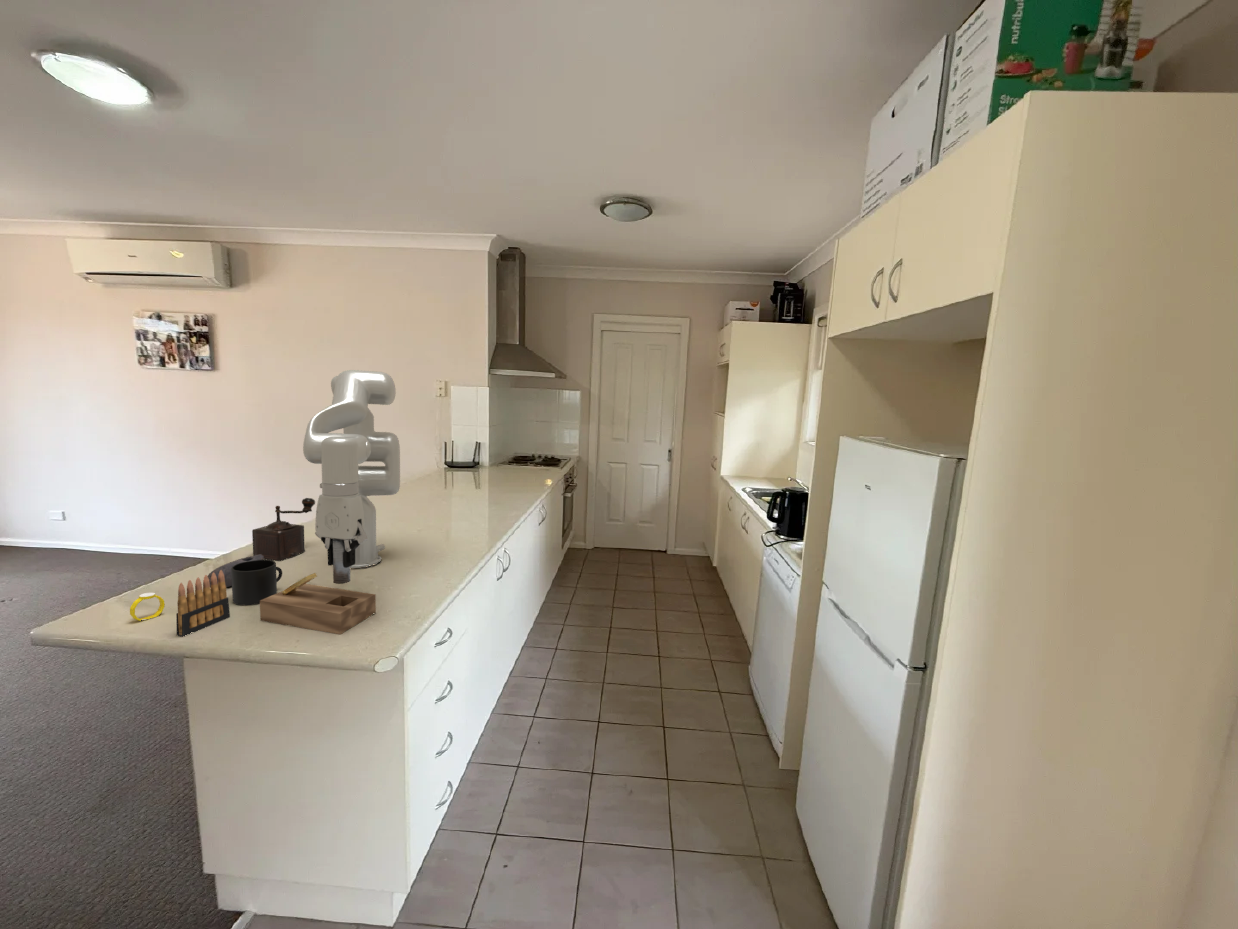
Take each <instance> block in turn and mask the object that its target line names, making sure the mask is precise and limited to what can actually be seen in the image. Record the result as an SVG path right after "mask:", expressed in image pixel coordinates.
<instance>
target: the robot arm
mask: <svg viewBox="0 0 1238 929" xmlns="http://www.w3.org/2000/svg"><path fill="white" fill-rule="evenodd" d="M330 388H331V392H332V395H333V396H332V400H331V404H330V405H329V406H327V407H325V408H323V409H321V410H320V411H319V412H317V413H316V414H314V416H312V417H311V418H310V420H309V421H308V423H307V426H306V429H305V434H304V437H303V438H304V439H303V445H302V451H303V456H304V458H305V460H306V461H307V462H310V463H312V464H316V465H321V483H319V488H320V489H321V494H319V496H318V499H317V504H316V511H315V524H314V525H315V532H314V535H315V536H316V537H317V538H318V539H320V541H321V542H322V543H323V544H324V548H325V549H326V550H327V566H331V567H332V566H333V539H341V540H344V543H345V550H346V551H344V552H343V567H344V568H347V567H350V568H360V567H366V566H369V565H373V564H377V563H378V562H380V561H381V559H382V556H381V555H380V554H378V553H379V552H380V551H383V550H384V549H385V548H386V546H385V544H384V543H381V544H378V545H377V509H376V507H375V504H374V503H373V501H371V499H370V498H368V497H373V496H376V497H377V496H394V495H396V494H398V492H399V491H400V489H401V488H400V487H401V447H400V440H399V438H398V436H397V435H396V434H395V433H393V432H391V431H390V432H387V431H375V419H374V418H375V416H374V415H373V413H372V411H371V410H370V409H369V407H368V405H380V406H381V405H382V406H384V405H385V406H388V405H389V406H390V405H392V404H393V403H394V400H395V398H396V393H397V392H396V390H397V389H396V385H395V382H394V380H393V378H392V376H391V375H390V374H389V373H387V372H383V371H374V370H359V369H357V370H356V369H349V370H343V371H342V372H340V373H339V374H338V375H334V376H333V377H332V379H331V381H330ZM342 429H343V433H338V432H335V433H334V431H337V430H342ZM366 462H367V463H368V462H371V463H372V462H374V463H379V462H380V463H383V464H384V465H361V464H363V463H366ZM382 560H383V559H382ZM381 562H382V561H381ZM381 562H380V563H381ZM377 565H378V564H377ZM360 569H361V568H360Z"/></svg>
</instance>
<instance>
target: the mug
mask: <svg viewBox="0 0 1238 929" xmlns="http://www.w3.org/2000/svg"><path fill="white" fill-rule="evenodd" d="M276 562H277V561H274V560H266V559H264V560H252V561H246V562H242V563H239V564H236V565H234V566H233V567H232V568H231V576H232V586H231V593H232V595H231V596H232V602H233V604H235V605H240V606H253V605H258V604H259V605H260V600H262V599H265V598H267V597H269V596H272V595H274V594H277V593H278V586H277V585H278V582H279V581H280V580H281V579H282V576H283V570H282V569H281V567H279V566H277V563H276ZM277 571H278V575H277Z"/></svg>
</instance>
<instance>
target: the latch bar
mask: <svg viewBox="0 0 1238 929" xmlns="http://www.w3.org/2000/svg"><path fill="white" fill-rule="evenodd" d="M317 577H318V575H317V573H316V572H314V573H312V574H309V575H307V576H304V577H303V578H301V579H300V580H298V581H297V582H295V583H294V584H292V585H290V586H288V587H287V588H285V589H283V590H282V594H283V595H285V594H287V593H290V592H292V591H294V590H296V589H298V588H299V587H301V586H303V585H304V584H308V583H309V582H310V581H313V580H314V579H315V578H317Z"/></svg>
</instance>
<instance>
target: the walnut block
mask: <svg viewBox="0 0 1238 929" xmlns="http://www.w3.org/2000/svg"><path fill="white" fill-rule="evenodd" d="M282 591H283V590H282ZM282 591H280V592H279V591H278V592H277V594H274V595H272V596H269V597H267V598H265V599H262V600H260V603H259V616H260V621H262V622H267V623H273V624H279V625H284V626H290V627H296V628H302V629H307V630H313V631H319V632H325V633H330V634H336V635H342V634H343V633H346V631H349V630H351V629H352V628H354V627H355V626H356V625H359V624H360V623H362V622H364V621H365V620H366V619H368V617H369V616H370V617H372V616H373V615H372V614H373V613H375V614H376V612H377V611H376V610H377V607H376V606H377V605H376V603H377V602H376V601H377V600H376V599H377V596H376V593H369V592H362V591H355V590H350V589H343V588H335V587H330V586H323V585H317V584H309V583H306V584H304V585H303V586H301V587H299V588H298V589H296V590H294V591H292V592H290V593H287V594H285V595H283V594H282ZM371 615H372V616H371ZM370 617H369V618H370ZM364 619H365V620H364ZM363 620H364V621H363Z"/></svg>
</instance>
